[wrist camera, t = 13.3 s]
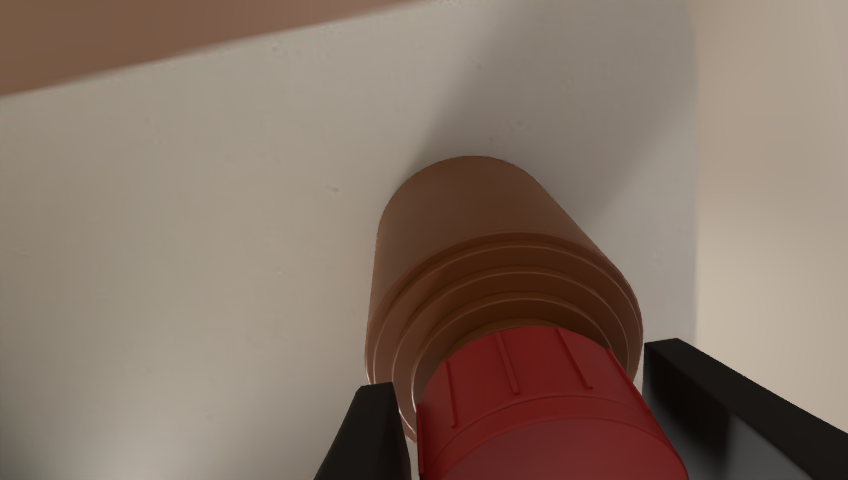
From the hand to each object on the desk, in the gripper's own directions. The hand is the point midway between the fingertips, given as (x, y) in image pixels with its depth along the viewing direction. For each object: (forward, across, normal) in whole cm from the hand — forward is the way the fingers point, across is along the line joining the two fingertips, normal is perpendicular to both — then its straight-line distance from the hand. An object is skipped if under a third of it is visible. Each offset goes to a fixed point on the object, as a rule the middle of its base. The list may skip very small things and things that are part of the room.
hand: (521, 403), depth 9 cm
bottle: (+7, 0, 0) cm, 7 cm away
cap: (-2, 0, 0) cm, 2 cm away
